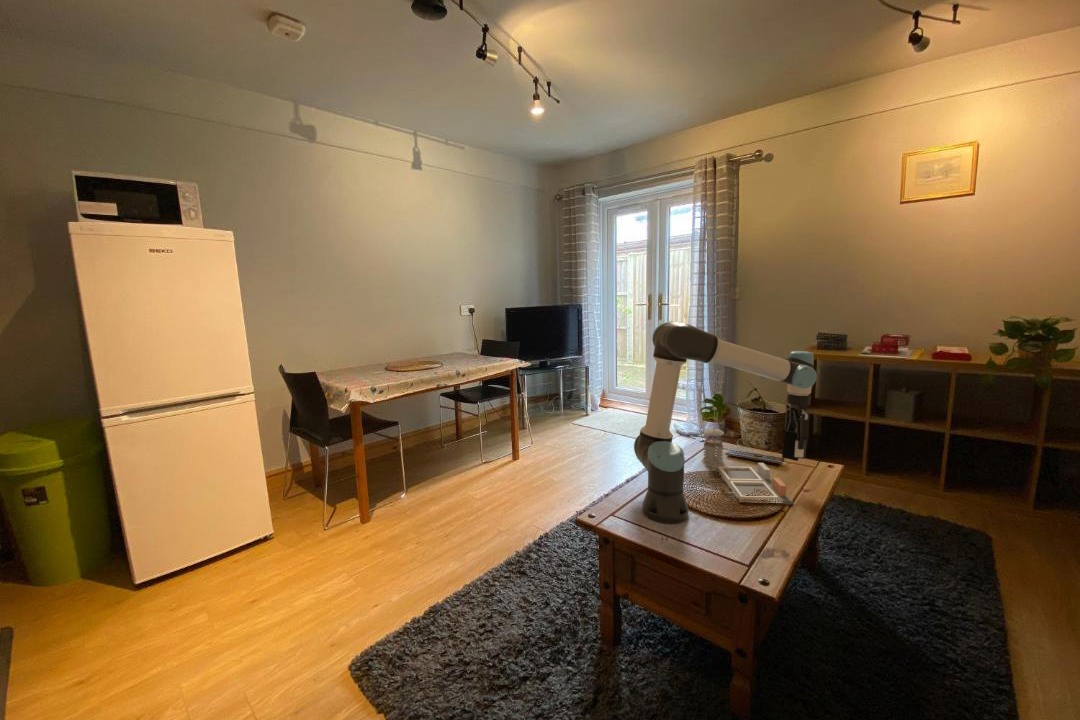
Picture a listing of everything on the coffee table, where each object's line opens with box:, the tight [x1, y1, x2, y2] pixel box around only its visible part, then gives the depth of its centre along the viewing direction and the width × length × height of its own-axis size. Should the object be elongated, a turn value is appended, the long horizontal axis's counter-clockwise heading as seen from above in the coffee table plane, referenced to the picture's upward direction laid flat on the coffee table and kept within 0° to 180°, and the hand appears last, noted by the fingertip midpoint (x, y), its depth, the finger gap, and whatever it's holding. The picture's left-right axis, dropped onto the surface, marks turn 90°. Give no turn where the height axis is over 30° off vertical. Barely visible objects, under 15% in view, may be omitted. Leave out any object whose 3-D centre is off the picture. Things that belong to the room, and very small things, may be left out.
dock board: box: [715, 462, 794, 505], centre depth 166 cm, size 18×28×5 cm, turn 174°
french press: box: [700, 406, 726, 468], centre depth 187 cm, size 10×12×25 cm
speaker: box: [781, 429, 808, 462], centre depth 161 cm, size 8×6×10 cm
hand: (794, 453), depth 162 cm, fingers closed on speaker, 6 cm apart
